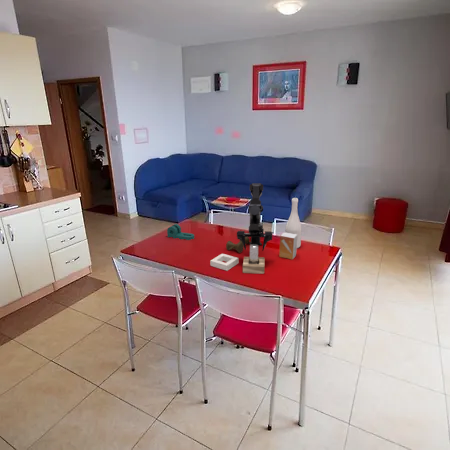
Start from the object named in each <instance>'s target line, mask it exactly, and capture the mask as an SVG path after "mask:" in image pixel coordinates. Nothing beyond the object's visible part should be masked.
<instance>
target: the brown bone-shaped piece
mask: <svg viewBox="0 0 450 450" xmlns="http://www.w3.org/2000/svg"><path fill="white" fill-rule="evenodd" d="M249 242H251V239H250V237H245V244H246V245H248V244H249V245H250V243H249ZM225 244H226V245H225V248H226V250H228V251H231V250H236V252H238V253H239V254H241V253H242V252H243V251H244V249H245V248H244V245H243V243H242V241H240V240H239V242H237V243H234V242H232V241H231V240H228V241H227V242H226V243H225Z"/></svg>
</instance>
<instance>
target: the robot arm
mask: <svg viewBox="0 0 450 450" xmlns="http://www.w3.org/2000/svg"><path fill="white" fill-rule="evenodd" d="M249 191H250V195H251V196H252V197H251V200H250V201H249V204H248V208H247V212H248V213H249V226H248V232H245V230H238V231H236V239H237V240H239V242H240V241H242V243H243V246H244V248H243V249H244V250H245V251H246V250H247V247H246V245H247V244H245V237H248V238H250V242H249V245H251V244H257V245H258V246H262V251H265V247H266V246H267V243H268V242H271V241H272V240H273V232H272V231H269V230H267V231H264V230H265V229H264V227H263V226H264V224H263V222H261V214H262V212H263V211H264V206H263V205H262V201H261V200H260V198H261V197H262V195H263V191H264V184H262V183H259V182H257V183H253V182H252V183H251V184H249ZM261 238H263V243H262V242H261Z"/></svg>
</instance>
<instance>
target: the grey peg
mask: <svg viewBox="0 0 450 450" xmlns="http://www.w3.org/2000/svg"><path fill="white" fill-rule="evenodd" d="M249 257H250V264H258V257H259V245H257V244H249Z"/></svg>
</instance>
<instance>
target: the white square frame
mask: <svg viewBox="0 0 450 450" xmlns="http://www.w3.org/2000/svg"><path fill="white" fill-rule="evenodd" d="M209 262H210V263H209V264H210V267H214V268H216V269H220V270H224V271H226V272H228V271H229V270H230V269H232V268H233V267H235V266H236V265H238V264H239V263H240V262H239V257H236V256H232V255H229V254H225V253H221V254H218V256H216V257H214V258H213V259H211V260H210V261H209Z"/></svg>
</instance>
